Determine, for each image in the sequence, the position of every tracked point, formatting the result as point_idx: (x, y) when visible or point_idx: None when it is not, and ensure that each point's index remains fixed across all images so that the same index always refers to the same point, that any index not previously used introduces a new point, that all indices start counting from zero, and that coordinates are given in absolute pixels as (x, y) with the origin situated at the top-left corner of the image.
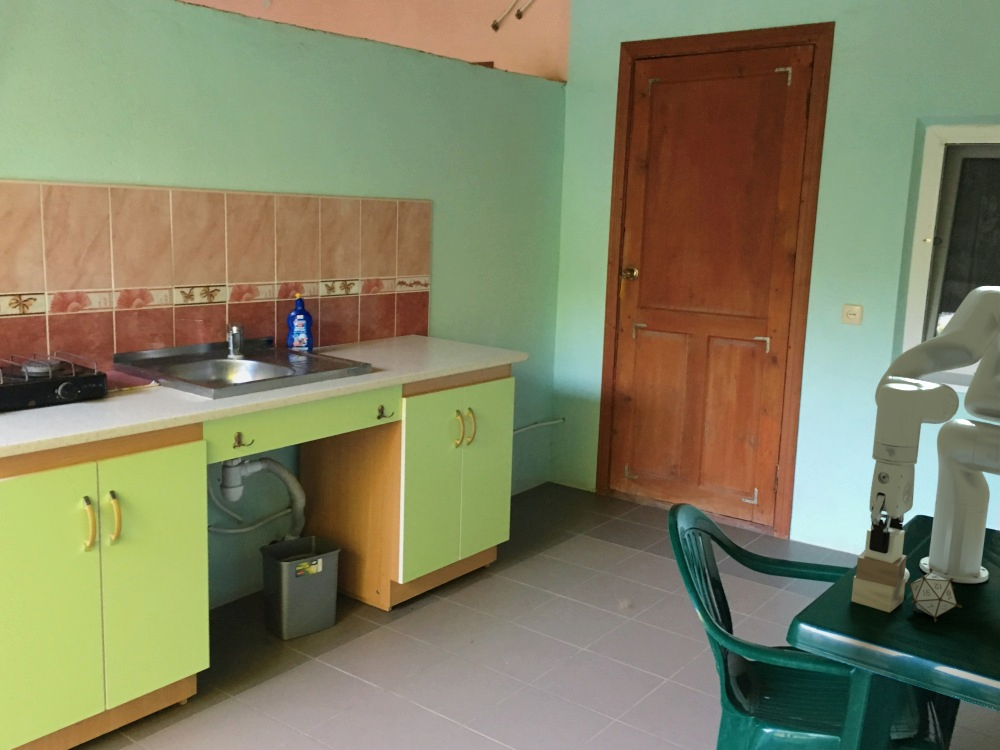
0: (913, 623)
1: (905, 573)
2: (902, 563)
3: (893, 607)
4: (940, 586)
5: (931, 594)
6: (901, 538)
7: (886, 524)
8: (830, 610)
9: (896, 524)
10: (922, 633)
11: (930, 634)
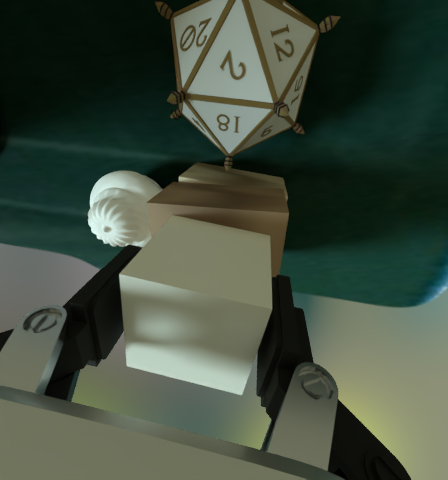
0: (326, 115)
1: (133, 182)
2: (210, 203)
3: (261, 175)
4: (280, 31)
5: (305, 68)
6: (171, 263)
7: (329, 431)
8: (335, 275)
9: (97, 323)
10: (390, 78)
11: (389, 55)
